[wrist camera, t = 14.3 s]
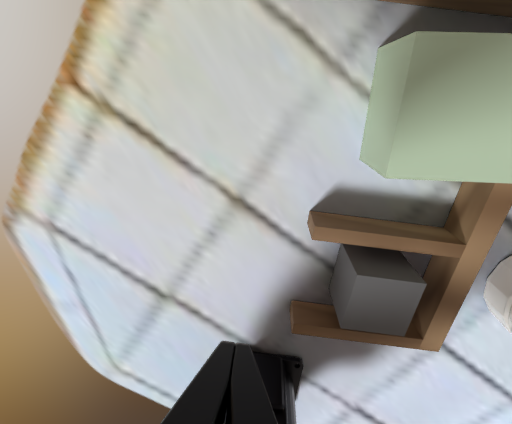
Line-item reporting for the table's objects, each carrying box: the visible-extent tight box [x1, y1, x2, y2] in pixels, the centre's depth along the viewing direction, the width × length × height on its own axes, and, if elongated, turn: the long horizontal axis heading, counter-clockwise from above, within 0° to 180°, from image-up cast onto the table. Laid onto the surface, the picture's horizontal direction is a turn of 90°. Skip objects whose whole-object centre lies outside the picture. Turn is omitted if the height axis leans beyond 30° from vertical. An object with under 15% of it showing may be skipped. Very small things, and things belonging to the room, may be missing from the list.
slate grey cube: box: [329, 243, 427, 336], centre depth 19 cm, size 4×4×4 cm
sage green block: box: [359, 31, 512, 184], centre depth 14 cm, size 6×6×4 cm
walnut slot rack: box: [290, 0, 512, 352], centre depth 17 cm, size 21×10×2 cm, turn 173°
